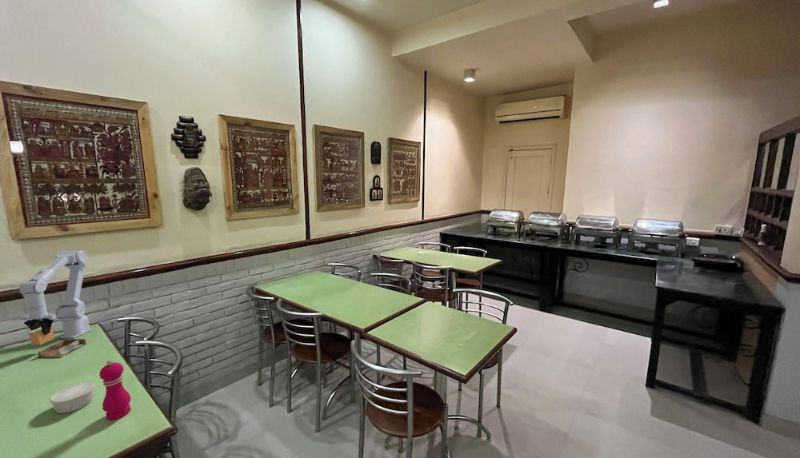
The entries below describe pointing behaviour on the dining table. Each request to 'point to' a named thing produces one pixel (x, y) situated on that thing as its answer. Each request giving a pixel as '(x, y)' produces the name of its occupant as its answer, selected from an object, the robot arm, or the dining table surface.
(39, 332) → the tan block
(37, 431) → the dining table surface
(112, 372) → the pepper mill
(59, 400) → the ramekin
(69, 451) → the dining table surface
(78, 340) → the shelf
